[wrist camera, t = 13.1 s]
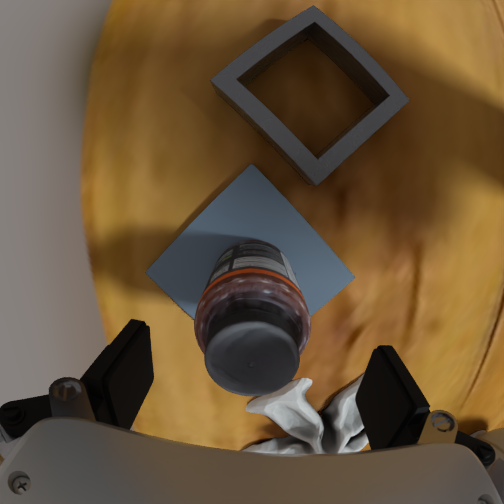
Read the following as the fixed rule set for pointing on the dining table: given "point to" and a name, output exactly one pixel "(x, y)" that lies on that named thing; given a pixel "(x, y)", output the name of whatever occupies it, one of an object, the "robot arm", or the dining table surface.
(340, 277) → the board
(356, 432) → the cloth
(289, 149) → the collar
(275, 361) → the supplement bottle
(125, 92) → the dining table surface
